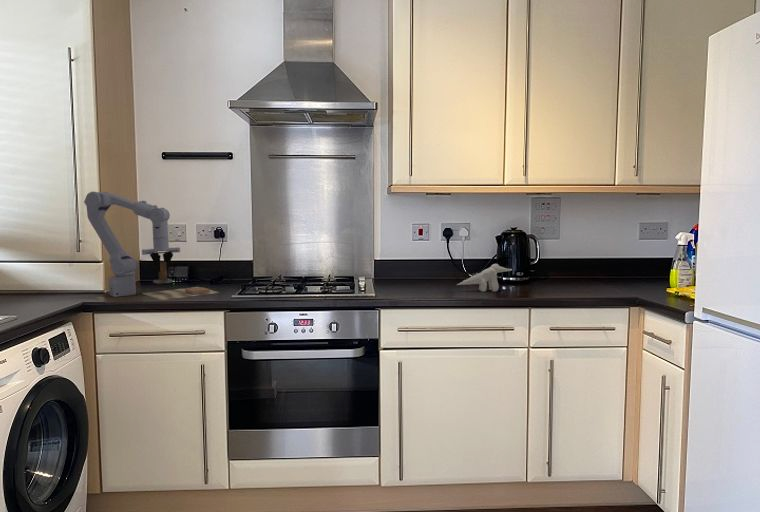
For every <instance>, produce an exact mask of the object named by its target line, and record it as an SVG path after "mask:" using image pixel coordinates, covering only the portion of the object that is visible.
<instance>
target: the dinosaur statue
mask: <svg viewBox="0 0 760 512" xmlns="http://www.w3.org/2000/svg"><path fill="white" fill-rule="evenodd" d="M511 271H513V268H506V267H504V266H501V265H499V264H498V263H493V264H492V265H490V267H488V268H486V269H483V270H482V271H481V272H479V273H478V272H476V273H475V274H474V273H473V274H472V276H470V277H469V278H468V277H467V278H466V279H463V281H461V282H460V283H457V284H456V286H462V285H463V286H464V285H465V286H467V285H479V287H478V291H480V292H483V293H485V292H486V291H487V287H489V288H488V290H489V291H491V292H493V293H494V292H498V291H499V282H498V273H504V272H506V273H507V272H511Z"/></svg>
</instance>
